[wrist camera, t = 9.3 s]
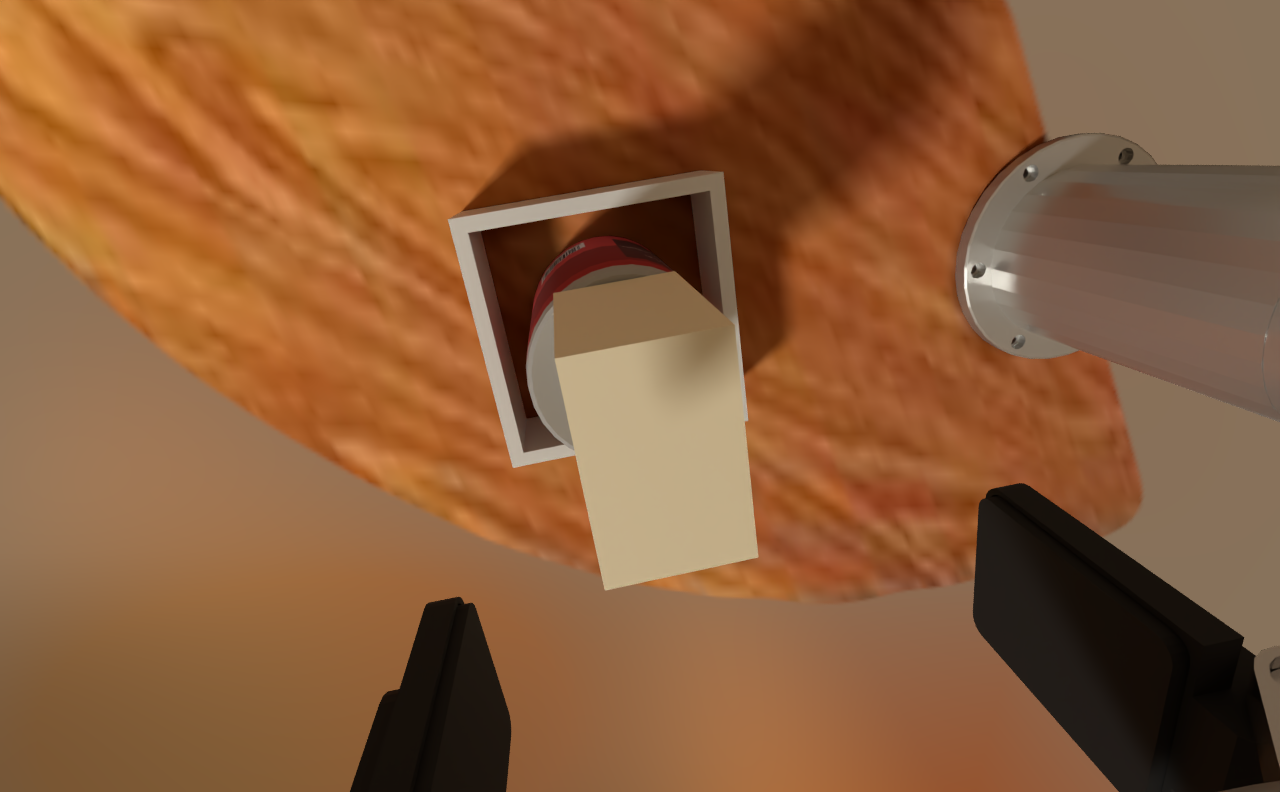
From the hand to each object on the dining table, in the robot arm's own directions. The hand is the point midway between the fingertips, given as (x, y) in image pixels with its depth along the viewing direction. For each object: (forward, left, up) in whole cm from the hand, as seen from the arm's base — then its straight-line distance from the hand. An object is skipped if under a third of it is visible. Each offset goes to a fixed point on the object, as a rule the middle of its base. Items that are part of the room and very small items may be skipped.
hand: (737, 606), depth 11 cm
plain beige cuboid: (0, 0, -14) cm, 14 cm away
